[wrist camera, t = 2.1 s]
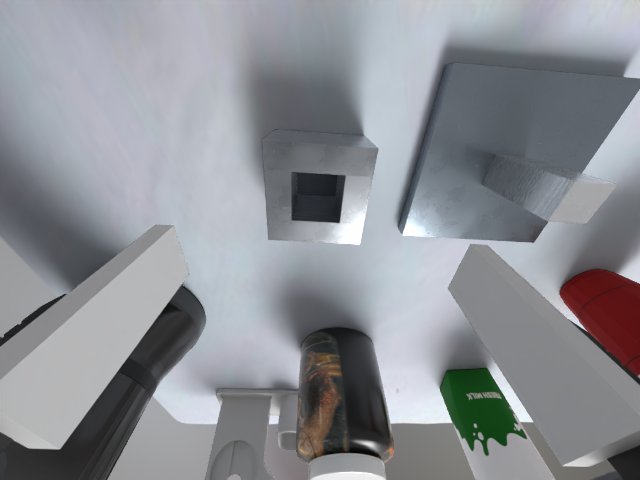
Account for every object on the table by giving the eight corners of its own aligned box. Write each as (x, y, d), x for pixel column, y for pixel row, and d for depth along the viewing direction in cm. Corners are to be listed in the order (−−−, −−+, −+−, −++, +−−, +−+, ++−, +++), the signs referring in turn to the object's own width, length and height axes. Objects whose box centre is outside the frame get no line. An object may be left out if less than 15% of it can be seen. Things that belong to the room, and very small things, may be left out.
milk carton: (494, 364, 39) (625, 567, 22) (479, 389, 44) (579, 571, 27) (442, 367, 40) (532, 568, 23) (433, 392, 45) (503, 572, 28)
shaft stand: (398, 227, 24) (430, 283, 17) (445, 64, 17) (538, 43, 10) (522, 235, 25) (604, 291, 18) (622, 80, 17) (833, 70, 10)
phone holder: (306, 390, 44) (300, 544, 29) (305, 412, 50) (299, 552, 34) (216, 388, 44) (161, 544, 28) (225, 411, 49) (183, 552, 34)
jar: (381, 328, 34) (418, 467, 21) (367, 370, 40) (389, 496, 27) (302, 325, 33) (292, 465, 21) (300, 367, 40) (291, 495, 27)
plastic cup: (535, 272, 28) (657, 373, 18) (644, 238, 25) (859, 333, 15) (535, 322, 33) (630, 422, 23) (625, 298, 31) (776, 399, 20)
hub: (278, 210, 23) (268, 239, 19) (275, 129, 19) (261, 140, 15) (351, 215, 24) (359, 244, 19) (364, 135, 20) (378, 148, 15)
